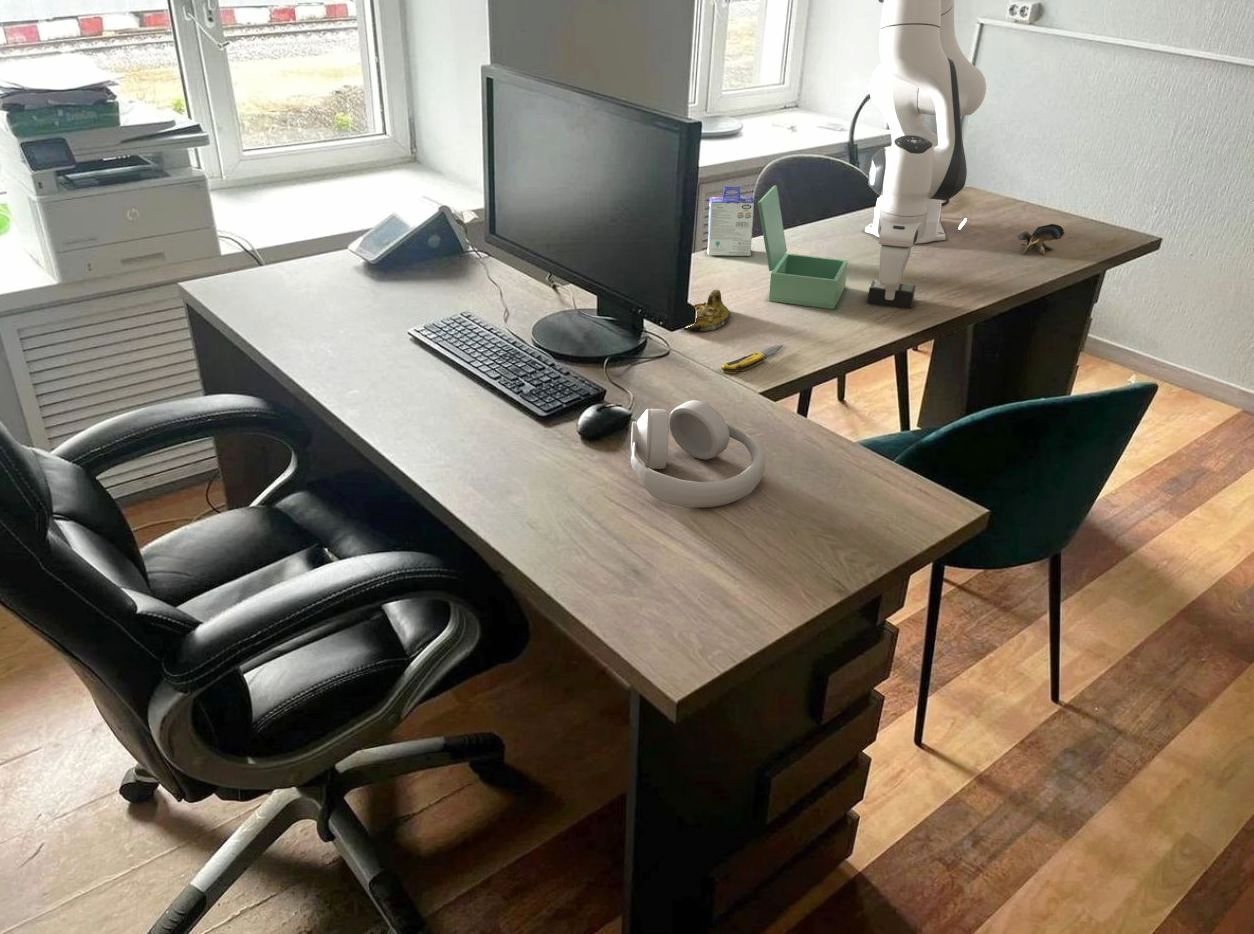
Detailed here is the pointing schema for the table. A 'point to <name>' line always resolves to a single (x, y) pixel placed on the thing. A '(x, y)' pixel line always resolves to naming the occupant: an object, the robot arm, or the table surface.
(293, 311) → the table surface
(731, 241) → the ink cartridge box
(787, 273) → the green box
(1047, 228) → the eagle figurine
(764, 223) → the cover
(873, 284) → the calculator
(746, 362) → the utility knife
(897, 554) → the table surface
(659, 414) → the headphones
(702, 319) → the seal
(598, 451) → the table surface
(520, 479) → the table surface
